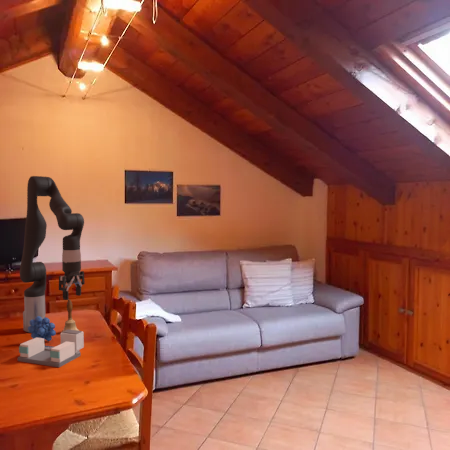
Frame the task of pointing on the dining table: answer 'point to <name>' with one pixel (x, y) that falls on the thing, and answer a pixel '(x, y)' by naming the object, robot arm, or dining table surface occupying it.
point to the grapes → (42, 328)
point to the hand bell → (70, 318)
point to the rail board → (47, 353)
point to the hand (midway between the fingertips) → (72, 297)
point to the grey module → (73, 338)
